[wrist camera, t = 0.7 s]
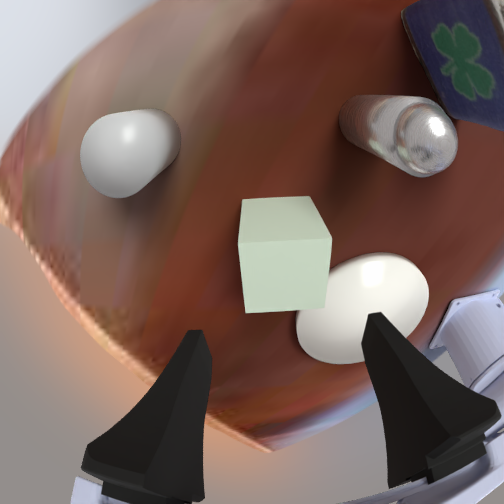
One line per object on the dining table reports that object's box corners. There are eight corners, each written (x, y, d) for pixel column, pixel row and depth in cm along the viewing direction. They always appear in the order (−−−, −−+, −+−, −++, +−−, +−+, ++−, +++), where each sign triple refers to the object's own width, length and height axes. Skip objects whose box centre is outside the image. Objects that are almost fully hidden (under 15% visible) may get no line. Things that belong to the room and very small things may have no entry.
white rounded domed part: (177, 102, 15) (148, 104, 10) (185, 167, 17) (162, 192, 13) (116, 116, 15) (74, 126, 10) (126, 176, 17) (90, 203, 13)
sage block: (309, 196, 18) (332, 238, 13) (307, 253, 20) (324, 307, 15) (242, 199, 18) (237, 243, 13) (247, 256, 20) (245, 313, 15)
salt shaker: (388, 98, 14) (477, 109, 7) (387, 149, 16) (468, 191, 8) (338, 92, 14) (409, 90, 7) (338, 146, 16) (404, 187, 9)
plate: (438, 248, 20) (445, 255, 19) (402, 345, 26) (405, 353, 25) (298, 257, 20) (300, 266, 19) (292, 361, 27) (293, 370, 26)
